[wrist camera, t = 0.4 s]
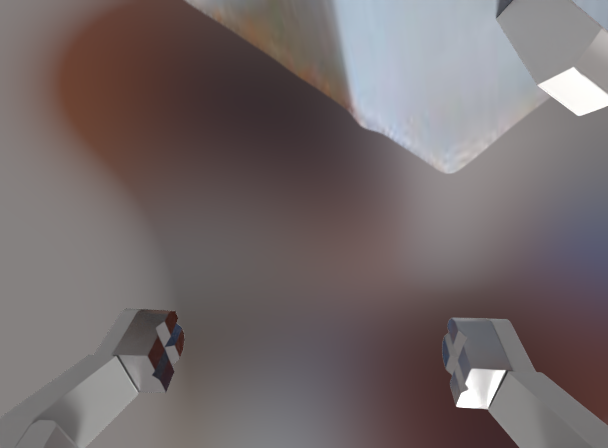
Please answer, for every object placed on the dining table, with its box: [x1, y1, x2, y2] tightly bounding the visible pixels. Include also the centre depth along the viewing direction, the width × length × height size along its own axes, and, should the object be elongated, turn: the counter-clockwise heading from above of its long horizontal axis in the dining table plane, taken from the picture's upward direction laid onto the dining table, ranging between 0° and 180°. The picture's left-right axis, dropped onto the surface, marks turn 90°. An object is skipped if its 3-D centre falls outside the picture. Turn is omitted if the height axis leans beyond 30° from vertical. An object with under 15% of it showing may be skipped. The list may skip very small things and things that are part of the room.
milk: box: [496, 0, 608, 116], centre depth 38 cm, size 6×6×22 cm
